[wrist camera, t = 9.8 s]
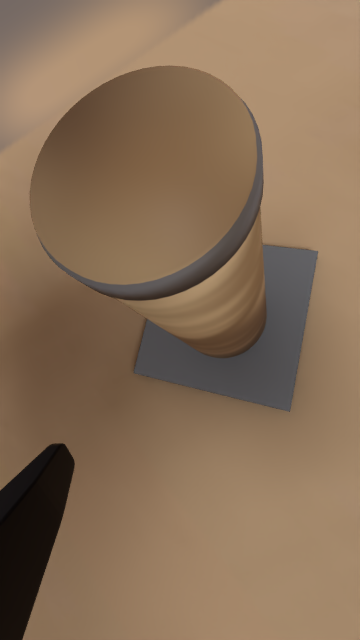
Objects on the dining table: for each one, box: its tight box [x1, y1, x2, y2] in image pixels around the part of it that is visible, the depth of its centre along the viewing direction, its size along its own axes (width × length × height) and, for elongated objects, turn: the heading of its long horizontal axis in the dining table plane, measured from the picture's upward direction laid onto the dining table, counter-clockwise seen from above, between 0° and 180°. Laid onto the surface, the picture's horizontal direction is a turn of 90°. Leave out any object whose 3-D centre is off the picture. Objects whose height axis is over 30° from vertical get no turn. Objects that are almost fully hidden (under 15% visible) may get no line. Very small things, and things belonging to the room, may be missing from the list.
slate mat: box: [134, 245, 318, 412], centre depth 19 cm, size 9×9×1 cm
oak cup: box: [30, 66, 267, 358], centre depth 13 cm, size 5×5×13 cm
